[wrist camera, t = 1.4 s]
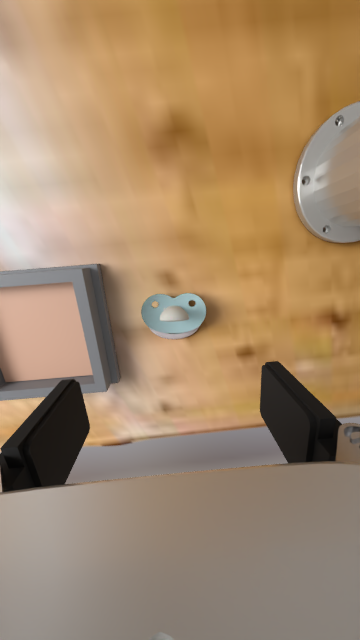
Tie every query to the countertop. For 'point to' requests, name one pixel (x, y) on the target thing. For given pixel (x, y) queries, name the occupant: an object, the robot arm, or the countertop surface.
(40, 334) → the holder
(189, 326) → the pacifier
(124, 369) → the countertop surface
